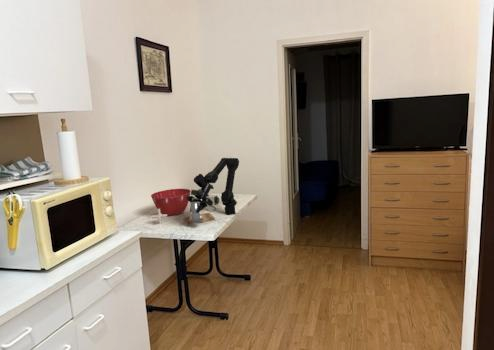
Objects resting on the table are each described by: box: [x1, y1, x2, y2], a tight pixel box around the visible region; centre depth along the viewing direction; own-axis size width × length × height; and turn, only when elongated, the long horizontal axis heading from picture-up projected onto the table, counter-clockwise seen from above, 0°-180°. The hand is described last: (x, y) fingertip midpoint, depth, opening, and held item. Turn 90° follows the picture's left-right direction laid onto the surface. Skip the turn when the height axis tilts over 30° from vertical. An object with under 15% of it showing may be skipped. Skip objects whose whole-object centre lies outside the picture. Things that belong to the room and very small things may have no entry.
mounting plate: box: [183, 212, 216, 225], centre depth 253 cm, size 18×14×2 cm
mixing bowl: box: [150, 188, 191, 217], centre depth 274 cm, size 28×28×16 cm
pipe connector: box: [151, 208, 168, 225], centre depth 250 cm, size 10×10×10 cm
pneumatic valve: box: [206, 194, 221, 212], centre depth 274 cm, size 6×12×12 cm, turn 70°
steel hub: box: [189, 201, 201, 224], centre depth 236 cm, size 5×5×13 cm
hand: (193, 212), depth 234 cm, fingers closed on steel hub, 5 cm apart
